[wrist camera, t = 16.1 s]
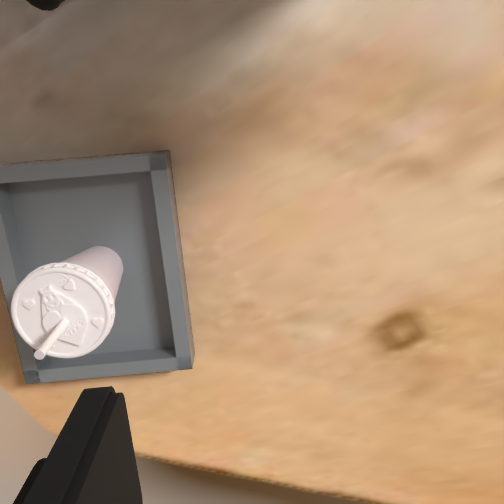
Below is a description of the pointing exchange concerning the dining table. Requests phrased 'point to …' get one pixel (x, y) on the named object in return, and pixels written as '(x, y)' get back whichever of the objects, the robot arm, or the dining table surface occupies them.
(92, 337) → the smoothie
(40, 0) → the coffeepot
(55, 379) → the tray
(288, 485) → the dining table surface
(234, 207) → the dining table surface
